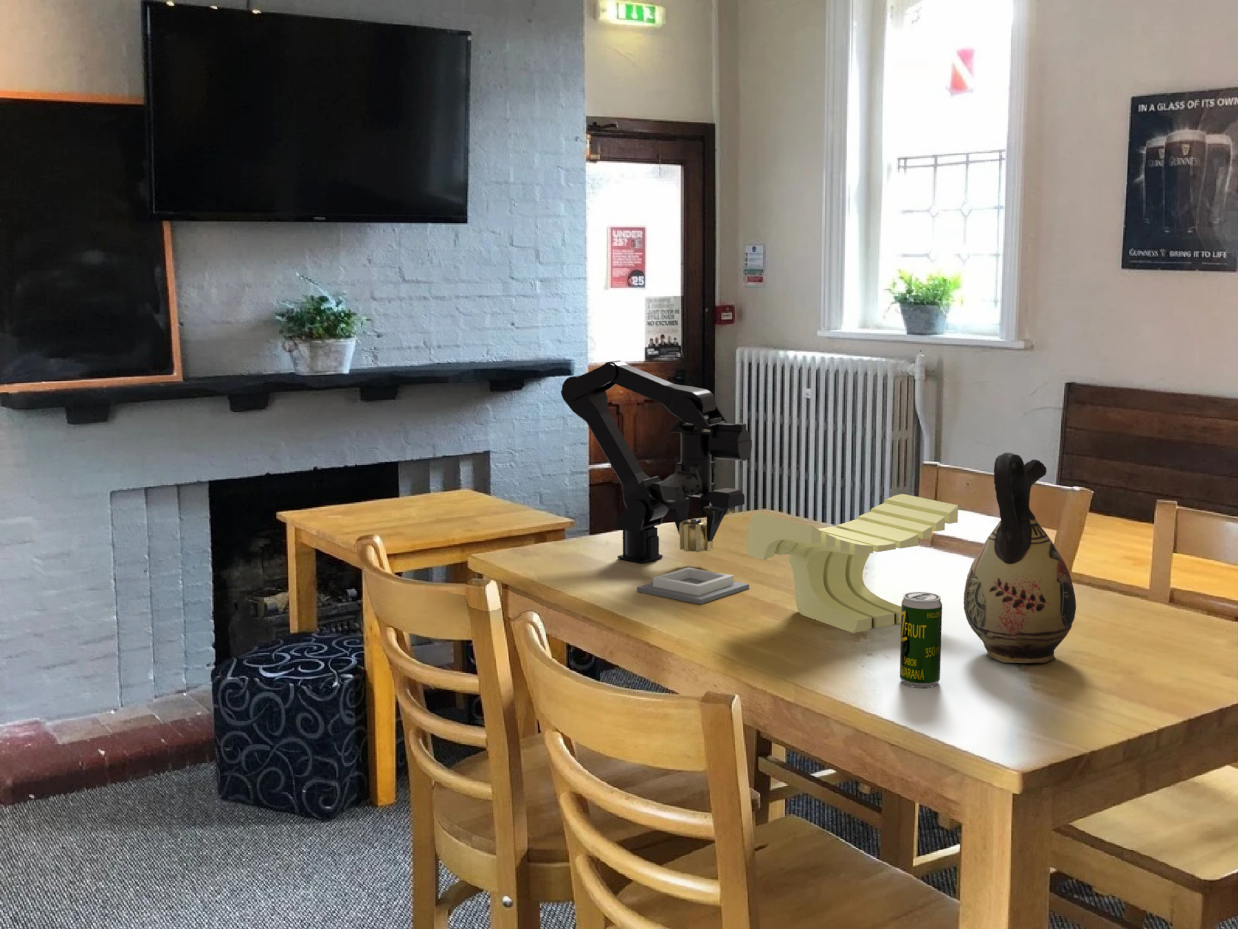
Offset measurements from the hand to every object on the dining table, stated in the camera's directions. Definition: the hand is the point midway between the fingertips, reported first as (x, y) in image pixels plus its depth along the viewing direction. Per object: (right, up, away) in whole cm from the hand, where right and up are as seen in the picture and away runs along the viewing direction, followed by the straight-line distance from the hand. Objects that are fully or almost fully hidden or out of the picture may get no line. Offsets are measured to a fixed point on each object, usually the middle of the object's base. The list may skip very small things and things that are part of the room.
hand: (696, 539), depth 246 cm
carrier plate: (-2, -8, -18) cm, 19 cm away
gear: (0, -2, 0) cm, 2 cm away
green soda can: (+26, -16, -69) cm, 75 cm away
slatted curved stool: (+23, -11, -35) cm, 43 cm away
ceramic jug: (+43, -14, -58) cm, 73 cm away
